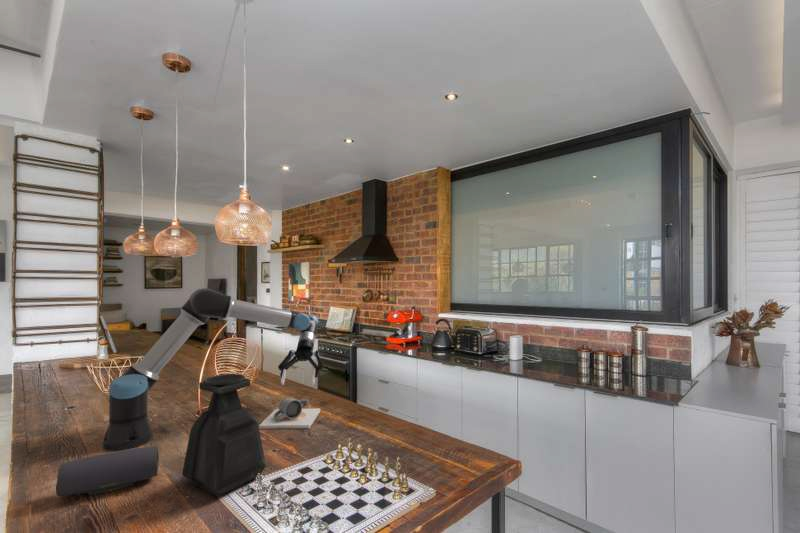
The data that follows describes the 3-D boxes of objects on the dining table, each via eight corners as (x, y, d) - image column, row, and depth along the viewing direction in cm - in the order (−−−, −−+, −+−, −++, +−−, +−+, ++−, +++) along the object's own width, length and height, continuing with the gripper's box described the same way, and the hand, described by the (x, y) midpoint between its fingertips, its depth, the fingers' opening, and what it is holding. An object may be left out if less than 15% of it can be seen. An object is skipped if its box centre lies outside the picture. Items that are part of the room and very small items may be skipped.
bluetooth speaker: (158, 471, 122) (159, 439, 122) (156, 485, 114) (156, 450, 114) (64, 491, 111) (65, 455, 111) (54, 508, 103) (55, 469, 103)
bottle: (180, 484, 114) (181, 380, 115) (232, 461, 128) (232, 369, 129) (215, 503, 104) (216, 389, 105) (267, 476, 118) (267, 376, 119)
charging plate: (309, 428, 156) (309, 423, 156) (259, 428, 156) (259, 423, 156) (325, 403, 187) (325, 398, 187) (283, 403, 187) (283, 399, 187)
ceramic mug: (294, 411, 171) (293, 394, 171) (302, 416, 165) (302, 398, 165) (270, 418, 164) (270, 399, 164) (278, 423, 158) (278, 404, 158)
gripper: (333, 347, 190) (326, 387, 174) (282, 348, 190) (271, 388, 175) (330, 338, 185) (324, 378, 169) (278, 338, 185) (267, 379, 170)
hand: (297, 383), depth 172 cm, fingers open, 13 cm apart
